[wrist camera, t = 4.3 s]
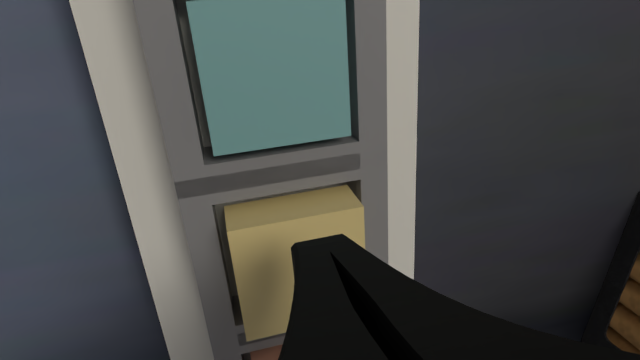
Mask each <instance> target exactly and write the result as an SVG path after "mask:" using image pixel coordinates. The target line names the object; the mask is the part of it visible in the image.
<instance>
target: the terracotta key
mask: <svg viewBox="0 0 640 360" xmlns="http://www.w3.org/2000/svg"><path fill="white" fill-rule="evenodd" d="M282 345H283V344H281V345H277V346H273V347H269V348H265V349H261V350H256V351H252V352H250V355H251V360H278V358H279V355H280V352H281V348H282Z"/></svg>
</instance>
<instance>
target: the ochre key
mask: <svg viewBox="0 0 640 360" xmlns="http://www.w3.org/2000/svg"><path fill="white" fill-rule="evenodd" d="M224 212H225V221H226V230H227V236H228V241H229V247H230V252H231V258H232V263H233V269H234V274H235V280H236V285H237V291H238V296H239V302H240V307H241V313H242V318H243V324H244V329H245V335H246V340H247V341H252V340H256V339H260V338H264V337H269V336H273V335H277V334H281V333H286V330H287V326H288V322H289V317H290V312H291V306H292V300H293V293H294V272H293V263H292V255H291V247H292V246H293V244H294V243H297V242H302V241H307V240H312V239H317V238H322V237H327V236H332V235H338V234H344V235H345V236H347V237H348V238H350V239H351V240H353V241H354V242H355V243H357V244H358V245H360V246H361V247H363V248H364V249H365V226H364V206H363V205H362V204H361V202H360V201H359V200H358V198H357V197H356V196H355V194H354V193H353V192H352V190H351V189H350V188H349V186H348V185H343V186H337V187H331V188H325V189H320V190H314V191H308V192H302V193H296V194H291V195H285V196H279V197H273V198H268V199H262V200H256V201H250V202H245V203H239V204H233V205H227V206H224Z"/></svg>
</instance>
